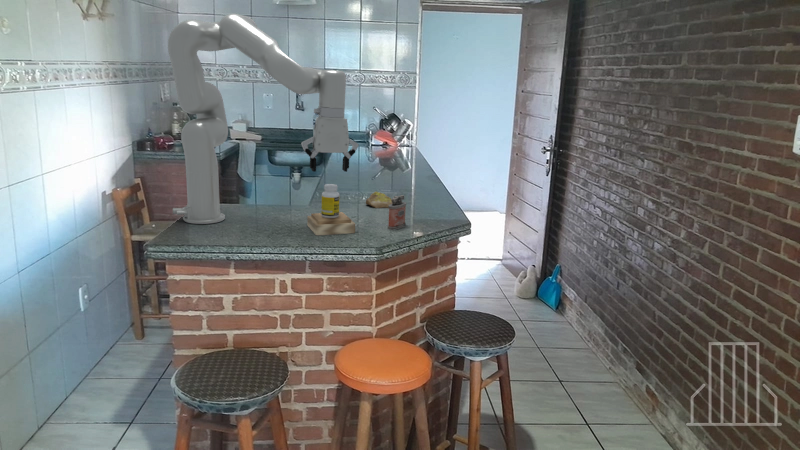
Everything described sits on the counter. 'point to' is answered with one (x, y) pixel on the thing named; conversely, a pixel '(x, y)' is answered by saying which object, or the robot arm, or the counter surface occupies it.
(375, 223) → the counter surface
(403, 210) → the lighter
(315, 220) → the plinth
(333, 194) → the supplement bottle
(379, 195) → the rock
